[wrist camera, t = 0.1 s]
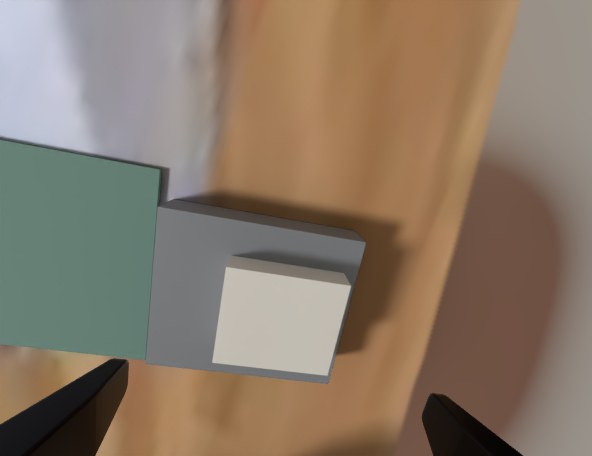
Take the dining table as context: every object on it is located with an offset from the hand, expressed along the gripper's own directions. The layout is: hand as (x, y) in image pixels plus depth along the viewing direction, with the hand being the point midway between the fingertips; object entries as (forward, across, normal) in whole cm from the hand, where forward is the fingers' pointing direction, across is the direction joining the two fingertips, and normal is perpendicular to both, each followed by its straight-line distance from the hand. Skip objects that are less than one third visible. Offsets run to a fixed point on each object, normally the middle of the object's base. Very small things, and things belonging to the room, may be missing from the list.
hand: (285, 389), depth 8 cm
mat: (+14, +16, +4) cm, 22 cm away
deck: (+14, +1, +4) cm, 15 cm away
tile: (+12, -1, +4) cm, 12 cm away
